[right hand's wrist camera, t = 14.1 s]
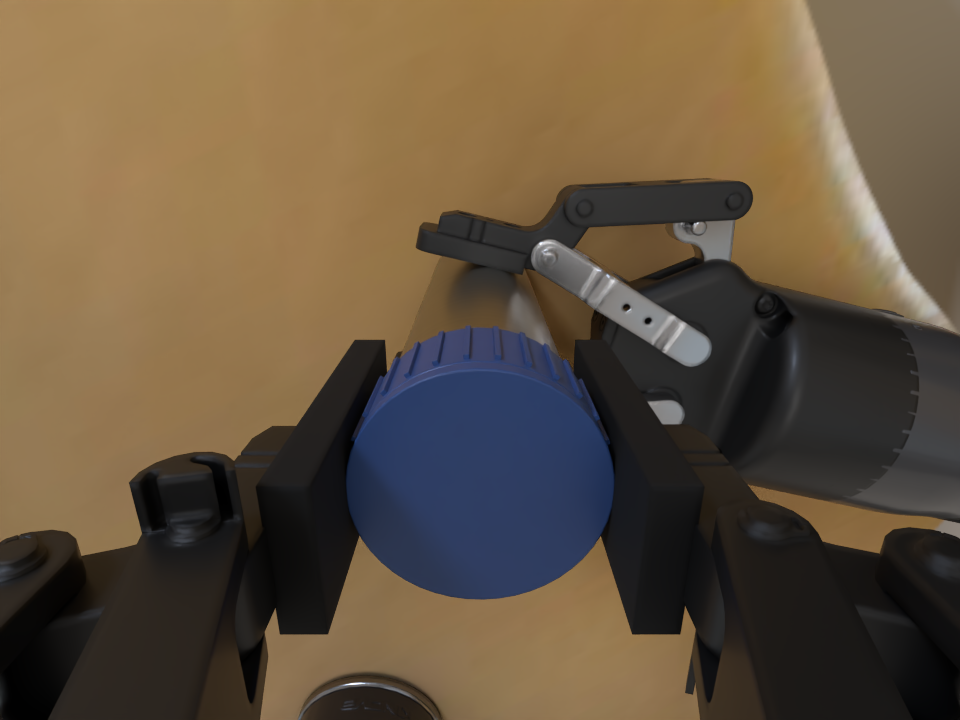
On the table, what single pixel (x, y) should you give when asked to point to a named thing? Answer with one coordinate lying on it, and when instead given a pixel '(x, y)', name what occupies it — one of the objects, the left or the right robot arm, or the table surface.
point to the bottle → (478, 303)
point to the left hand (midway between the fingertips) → (407, 305)
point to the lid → (480, 466)
